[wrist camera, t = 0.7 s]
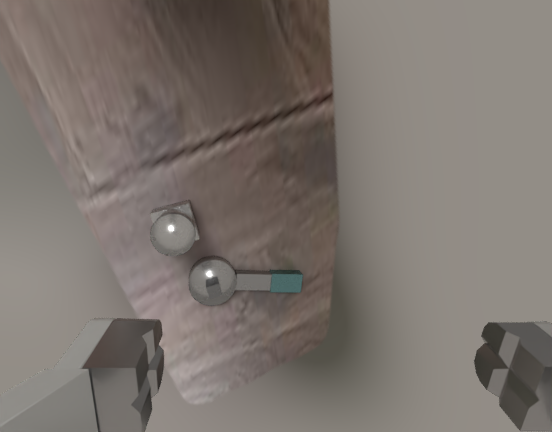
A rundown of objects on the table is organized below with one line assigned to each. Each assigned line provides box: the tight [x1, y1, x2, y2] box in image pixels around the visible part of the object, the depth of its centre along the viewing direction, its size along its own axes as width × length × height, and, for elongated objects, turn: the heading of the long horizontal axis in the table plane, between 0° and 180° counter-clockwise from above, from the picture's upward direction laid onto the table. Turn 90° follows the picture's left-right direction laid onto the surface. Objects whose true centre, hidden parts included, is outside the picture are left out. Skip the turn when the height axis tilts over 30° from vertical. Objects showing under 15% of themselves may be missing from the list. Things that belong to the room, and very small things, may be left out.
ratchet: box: [189, 256, 303, 306], centre depth 51 cm, size 18×7×6 cm, turn 84°
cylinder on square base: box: [150, 200, 200, 256], centre depth 45 cm, size 5×5×9 cm
